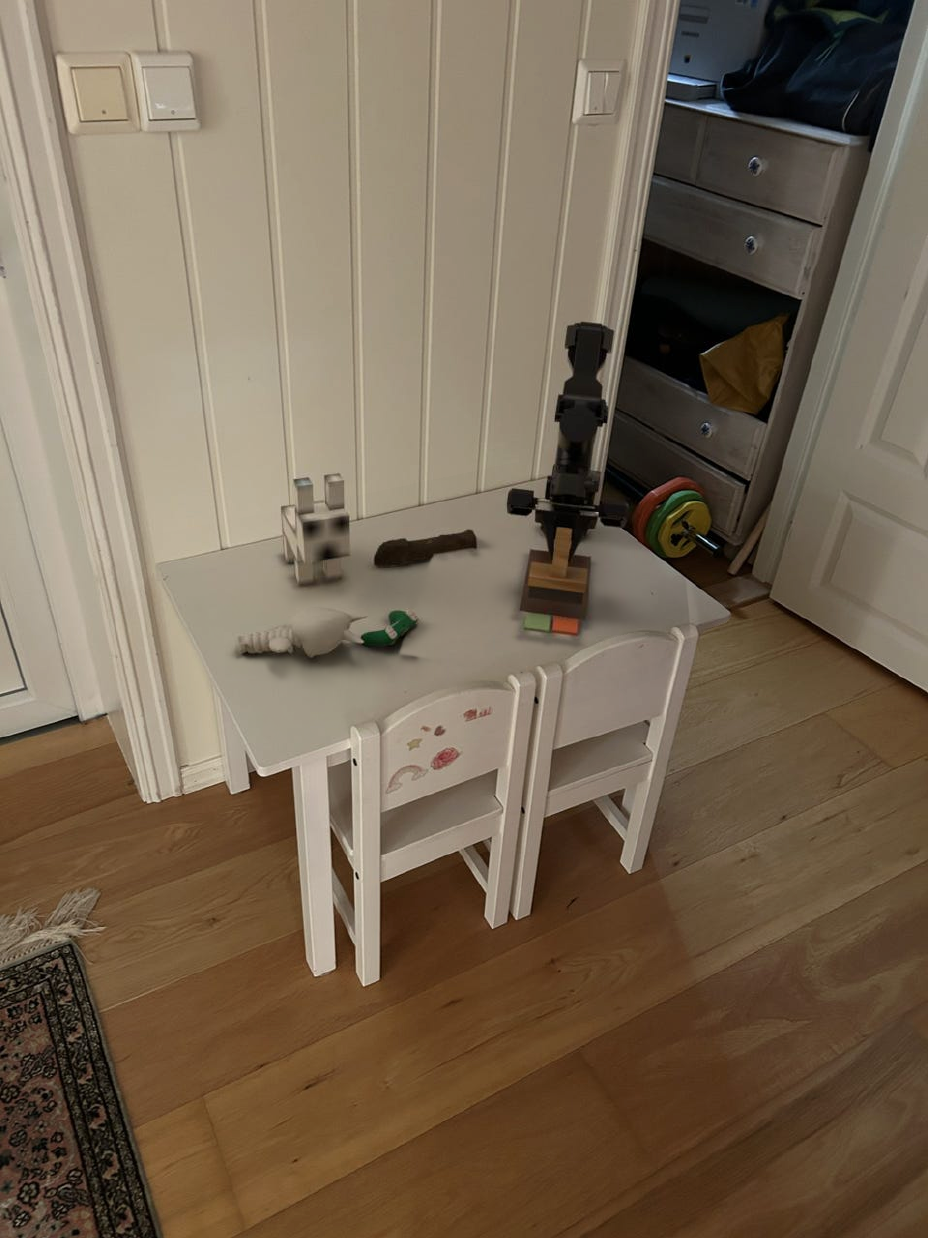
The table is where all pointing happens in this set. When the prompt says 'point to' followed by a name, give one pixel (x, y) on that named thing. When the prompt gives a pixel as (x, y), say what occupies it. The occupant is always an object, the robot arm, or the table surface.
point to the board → (554, 606)
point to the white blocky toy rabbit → (316, 529)
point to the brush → (558, 574)
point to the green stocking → (391, 629)
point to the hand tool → (422, 548)
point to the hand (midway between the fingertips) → (560, 561)
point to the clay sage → (537, 623)
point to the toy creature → (304, 633)
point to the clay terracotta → (565, 625)
